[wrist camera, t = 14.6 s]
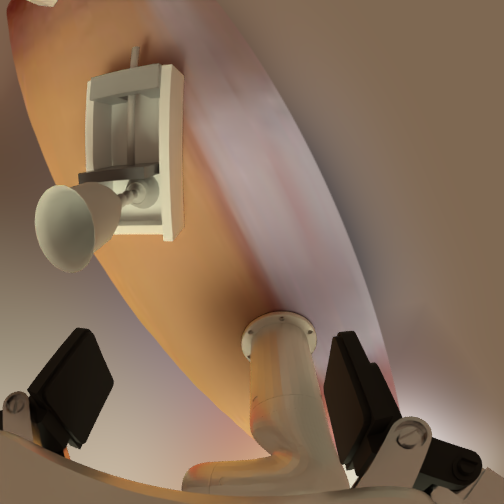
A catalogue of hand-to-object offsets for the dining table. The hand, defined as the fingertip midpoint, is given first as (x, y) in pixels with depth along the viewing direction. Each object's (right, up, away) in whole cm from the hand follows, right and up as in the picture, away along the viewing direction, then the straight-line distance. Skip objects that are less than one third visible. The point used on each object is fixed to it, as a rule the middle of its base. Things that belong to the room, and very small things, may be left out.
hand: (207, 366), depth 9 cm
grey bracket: (-13, +18, +24) cm, 32 cm away
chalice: (-13, +13, +25) cm, 31 cm away
